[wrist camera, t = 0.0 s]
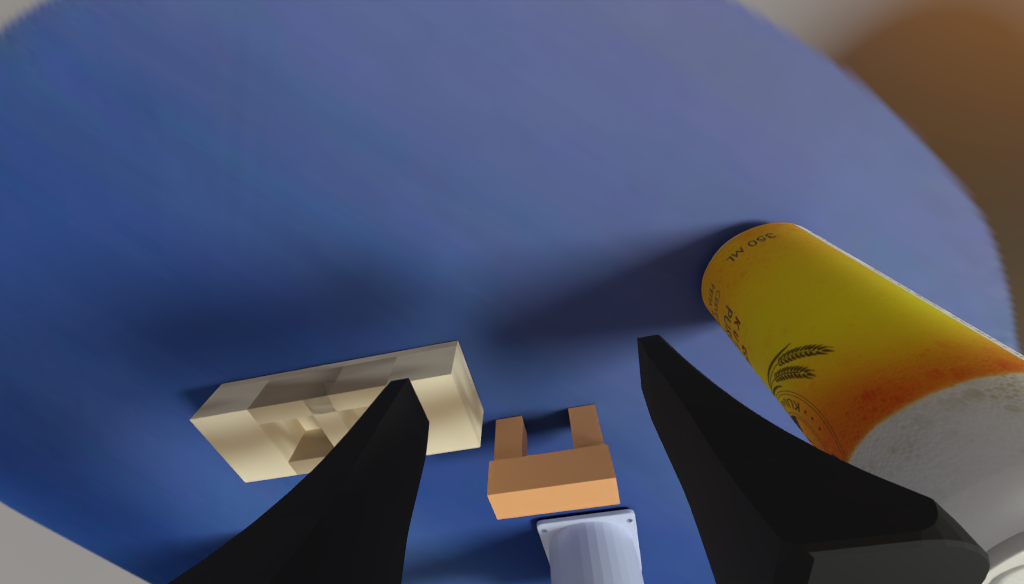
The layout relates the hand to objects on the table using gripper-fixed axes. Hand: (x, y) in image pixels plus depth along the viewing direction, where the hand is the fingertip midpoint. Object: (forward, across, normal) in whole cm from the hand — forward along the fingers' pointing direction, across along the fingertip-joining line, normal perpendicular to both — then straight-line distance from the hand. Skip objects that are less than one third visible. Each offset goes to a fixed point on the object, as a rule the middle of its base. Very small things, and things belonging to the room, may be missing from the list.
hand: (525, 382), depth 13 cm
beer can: (+10, -12, +4) cm, 16 cm away
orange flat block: (+10, +1, +13) cm, 16 cm away
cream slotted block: (+10, +13, +8) cm, 18 cm away
